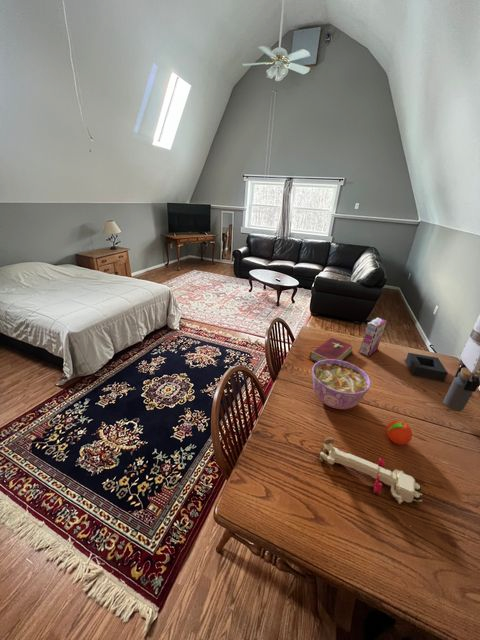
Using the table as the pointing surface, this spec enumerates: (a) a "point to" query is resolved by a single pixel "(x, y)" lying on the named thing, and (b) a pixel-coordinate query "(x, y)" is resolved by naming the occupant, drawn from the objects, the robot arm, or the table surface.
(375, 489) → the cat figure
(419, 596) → the table surface
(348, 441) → the table surface
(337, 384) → the bowl of food
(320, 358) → the hardcover book
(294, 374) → the table surface
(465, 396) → the bottle
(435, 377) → the holder
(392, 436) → the red tomato
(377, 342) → the candy bar box
